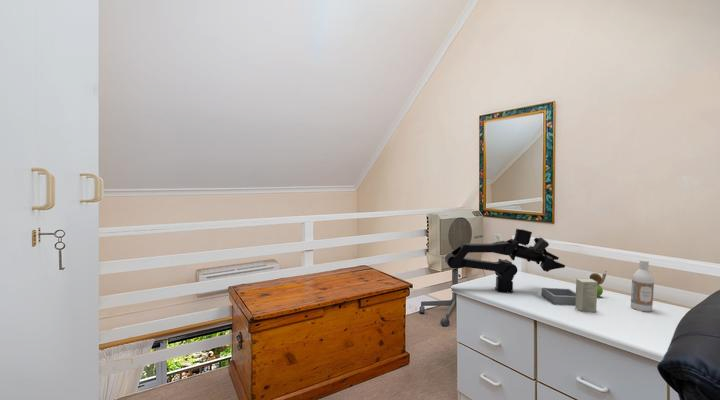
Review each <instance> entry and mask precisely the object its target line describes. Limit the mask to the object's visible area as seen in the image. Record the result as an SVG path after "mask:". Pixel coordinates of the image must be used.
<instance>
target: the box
mask: <svg viewBox="0 0 720 400" xmlns="http://www.w3.org/2000/svg"><path fill="white" fill-rule="evenodd" d="M540 293H541V295H540V296H542V297H543V298H544V299H545V300H547V301H548V302H550V303H551V304H552V305H555V306H575V301H576V291H574V290H572V289H571V288H557V287H555V288H554V287H552V288H551V287H541V292H540Z"/></svg>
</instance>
